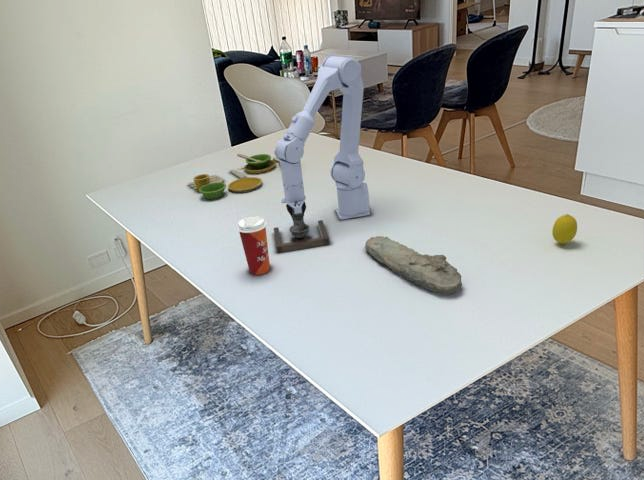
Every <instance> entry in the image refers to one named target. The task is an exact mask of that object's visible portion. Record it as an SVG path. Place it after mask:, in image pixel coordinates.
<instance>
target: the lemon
mask: <svg viewBox="0 0 644 480" xmlns="http://www.w3.org/2000/svg"><path fill="white" fill-rule="evenodd" d="M551 231H552V232H551V233H552V237H553V239H554V240H555V241H556V242H557V243H559V244H560V245H562V246H563V245H565V244H567V243H570V242H571V241H573V240H574V238H575V237H576V235H577V232H578V222H577V220H576V218H575V217H574V216H572V215H570V214H568V213H566V214H563V215H560V216H559V217H558V218H556V220H555V221H554V224H553V226H552V230H551Z"/></svg>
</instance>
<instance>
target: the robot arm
mask: <svg viewBox="0 0 644 480" xmlns="http://www.w3.org/2000/svg"><path fill="white" fill-rule="evenodd" d="M364 89H365V87H364V82H363V78H362V65H361V64H360V62H359V61H358V60H357V59H356V58H354V57H353V56H348V57H346V56H339V55H333V54H331V55H328V56H326V57H325V58H324V59H323V61H322V63H321V65H320V67H319V68H318V70H317V78H316V80H315V83H314V85H313V87H312V89H311V92H310V94H309V96H308V98H307V101H306V102H305V105H304V107H303V109H302V111H299V112H297V113H296V114H295V115H293V116H292V118H291V123H290V125H289V126H288V129H287V130H286V132H285V133H284V134H283V136H282V137H283V138H281V139H279V141H277V143H276V145H275V150H274V151H273V153H274V157H277V158H278V159H279V161H280V163H279V166H280V172H281V180H282V187H283V193H284V198H281V199H280V201H281V204H286V205H285V207H286V211H287V212H288V214H289V215H290V218H291V219H292V221H293V218H292V215H293V213H292V208H294V212H295V214H298V213H302V212H303V214H304V216H303V218H304V217H305V212H306V210H307V204H306V200H307V197H306V195H305V186H304V179H303V178H304V177H303V172H302V163H301V159H302V158H303V157H304V153H305V150H304V149H305V144H306V141H307V139H308V138H309V136H310V134H311V132H312V131H313V129H314V127H315V119H314V117H315V116H316V114H317V113H318V111H319V109H320V108H321V106H322V105H323V103H324V102H325V100H326V98H327V97H328V95H329V93H330V92H333V91H335V90H340V92H341V93H342V96H343V97H342V107H341V109H342V110H341V121H340V122H341V123H340V135H339V136H340V137H339V138H340V140H339V151H338V153H336V155H335V156H334V158H333V163H332V166H331V168H330V177H331V179H332V180H333V181H334V183H335V186H336V195H337V196H336V197H337V207H338V208H336V209H335V212H336V214H337V217H338V219H339V220H340V221H341V220H348V219H354V218H360V217H365V216H370V215H371V212H370V211H371V210H370V193H369V187H368V183H367V182H364V181H365V177H366V171H365V169H364V160H363V158H362V157H361V155H360V154H359V148H360V146H359V145H360V137H361V136H360V135H361V124H362V111H363V101H364ZM295 201H297V203H298V204H300V206H298V205H297V204H296V207H294V206H293V205H295V204H294V203H295ZM301 207H302V210H301Z"/></svg>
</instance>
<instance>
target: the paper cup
mask: <svg viewBox="0 0 644 480" xmlns="http://www.w3.org/2000/svg"><path fill="white" fill-rule="evenodd" d="M236 229H237V231H238V233H239V237H240V240H241V244H242V248H243V251H244V252H243V253H244V256H245V259H246V263H247V266H248V269H249V273H250V274H252V275H255V276H258V275H259V276H260V275H264V274H267V273H269V271H270V270H271V265H270V254H269V246H268V237H267V222H266V221H265V219H264V218H263V217H261V216H249V217H245V218H243V219H240V220H239V221H238V223H237V228H236Z"/></svg>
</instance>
